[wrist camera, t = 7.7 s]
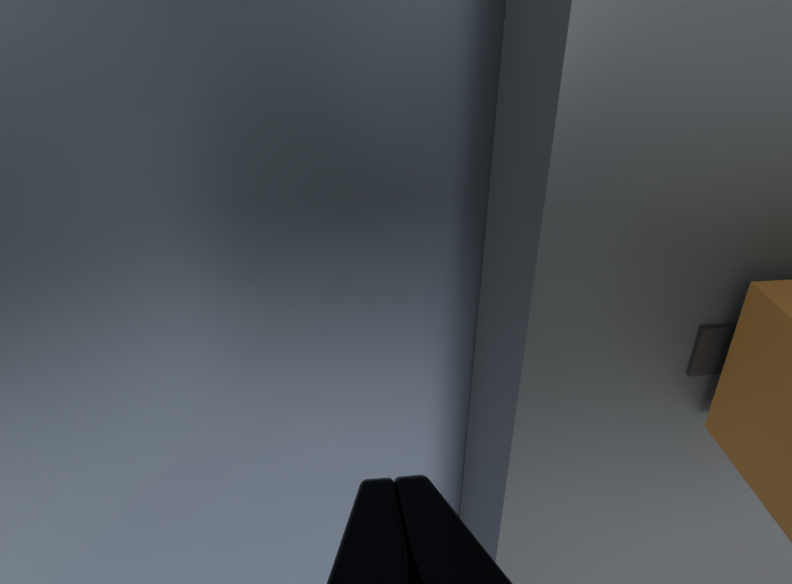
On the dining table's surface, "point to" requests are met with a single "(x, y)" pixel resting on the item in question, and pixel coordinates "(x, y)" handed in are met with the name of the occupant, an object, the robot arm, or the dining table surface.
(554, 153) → the grey flat rectangular board
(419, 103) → the dining table surface
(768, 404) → the lever
